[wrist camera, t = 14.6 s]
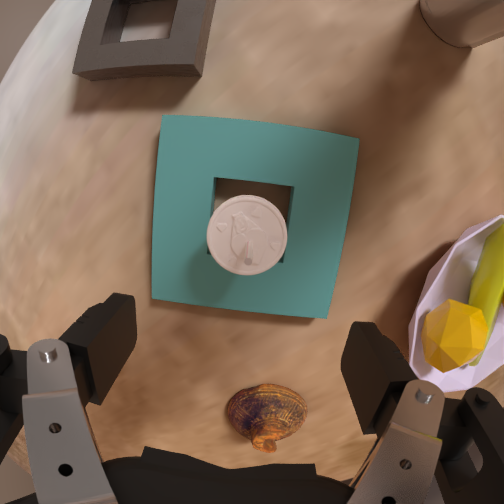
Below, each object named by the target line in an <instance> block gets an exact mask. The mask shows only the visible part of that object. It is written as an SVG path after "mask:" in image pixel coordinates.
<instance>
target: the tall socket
mask: <svg viewBox="0 0 504 504" xmlns="http://www.w3.org/2000/svg"><path fill="white" fill-rule="evenodd" d="M146 1H155V0H92V2H91V5H90V8H89V11H88V14H87V17H86V21H85V24H84V27H83V31H82V34H81V38H80V42H79V45H78V49H77V54H76V58H75V62H74V67H73V71H72V73H73V74H75V75H78V76H80V77H83V78H85V79H88V80H90V81H95V80H105V79H116V78H129V77H149V76H201V77H202V73H203V66H204V60H205V55H206V49H207V43H208V38H209V32H210V27H211V22H212V17H213V12H214V7H215V3H216V0H178V3H177V7H176V11H175V15H174V19H173V23H172V28H171V32H170V37H169V38H166V39H149V40H137V41H127V42H120V39H121V35H122V31H123V27H124V23H125V20H126V16H127V13H128V9H129V6H130V4H131V3H138V2H146Z"/></svg>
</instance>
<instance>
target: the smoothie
mask: <svg viewBox="0 0 504 504" xmlns="http://www.w3.org/2000/svg"><path fill="white" fill-rule="evenodd" d="M207 244H208V248H209V250H210V253H211V255H212V256H213V258H214V259H215V260H216V262H217V263H218V264H219V265H220V266H222V267H223V268H224V269H226V270H228V271H230V272H232V273H235V274H239V275H255V274H259V273H262V272H265V271H267V270H268V269H270V268H271V267H273V266H274V265H275V264H276V263H277V262H278V261H279V259H280V258H281V257H282V255H283V253H284V251H285V248H286V244H287V228H286V224H285V220H284V218H283V216H282V215H281V213H280V211H279V210H278V209H277V208H276V207H275V206H274V205H273V204H272V203H271V202H269V201H267V200H265V199H264V198H261V197H257V196H254V195H240V196H236V197H233V198H230V199H229V200H227V201H225V202H223V203H222V204H221V205H220V206H219V207H218V208H217V209H216V210H215V211H214V213H213V215H212V217H211V218H210V221H209V224H208V228H207Z"/></svg>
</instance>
